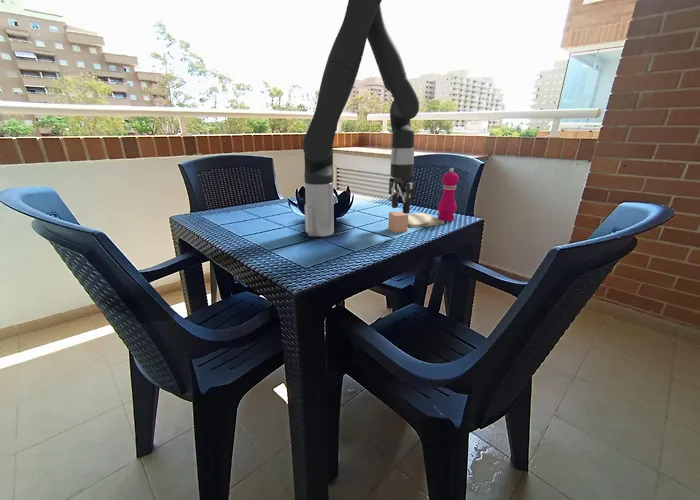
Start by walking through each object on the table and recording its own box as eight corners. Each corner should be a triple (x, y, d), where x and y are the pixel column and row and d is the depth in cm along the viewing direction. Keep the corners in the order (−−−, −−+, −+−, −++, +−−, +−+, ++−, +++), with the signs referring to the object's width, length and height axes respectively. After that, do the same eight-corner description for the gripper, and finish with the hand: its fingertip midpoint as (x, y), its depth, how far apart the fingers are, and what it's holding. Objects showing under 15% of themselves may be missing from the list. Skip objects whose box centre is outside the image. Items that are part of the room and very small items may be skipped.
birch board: (411, 227, 116) (411, 224, 116) (394, 217, 128) (394, 215, 128) (443, 224, 120) (444, 221, 120) (424, 215, 133) (424, 212, 132)
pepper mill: (457, 221, 124) (464, 169, 117) (438, 221, 124) (444, 169, 117) (452, 216, 131) (458, 166, 123) (434, 216, 131) (439, 166, 124)
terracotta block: (394, 232, 110) (395, 216, 108) (388, 228, 115) (389, 212, 113) (407, 231, 112) (408, 214, 110) (400, 227, 116) (401, 211, 114)
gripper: (423, 163, 100) (420, 214, 105) (402, 160, 112) (400, 205, 118) (401, 164, 98) (399, 216, 103) (382, 161, 110) (381, 206, 116)
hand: (400, 210), depth 111 cm, fingers open, 8 cm apart
